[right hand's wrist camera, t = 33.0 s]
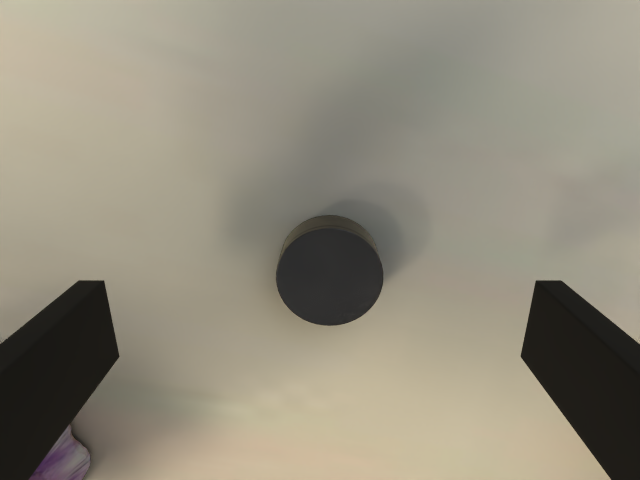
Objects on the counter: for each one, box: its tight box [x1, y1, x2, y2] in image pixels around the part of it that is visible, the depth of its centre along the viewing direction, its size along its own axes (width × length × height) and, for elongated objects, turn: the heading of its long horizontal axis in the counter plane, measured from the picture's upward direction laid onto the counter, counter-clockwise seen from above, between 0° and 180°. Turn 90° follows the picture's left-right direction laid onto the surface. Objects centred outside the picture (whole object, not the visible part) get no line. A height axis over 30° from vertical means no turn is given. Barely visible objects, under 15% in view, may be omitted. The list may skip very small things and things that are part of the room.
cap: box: [276, 215, 383, 326], centre depth 17 cm, size 4×4×2 cm
